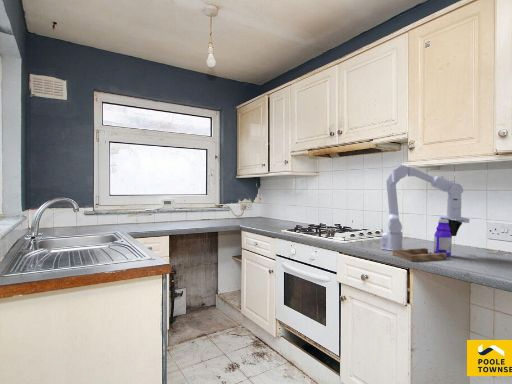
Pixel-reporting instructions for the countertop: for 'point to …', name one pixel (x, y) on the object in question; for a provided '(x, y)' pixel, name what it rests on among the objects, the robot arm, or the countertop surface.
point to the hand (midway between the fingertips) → (453, 235)
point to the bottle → (443, 238)
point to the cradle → (418, 254)
